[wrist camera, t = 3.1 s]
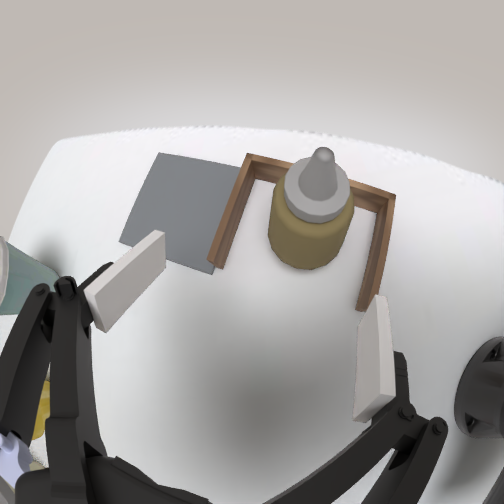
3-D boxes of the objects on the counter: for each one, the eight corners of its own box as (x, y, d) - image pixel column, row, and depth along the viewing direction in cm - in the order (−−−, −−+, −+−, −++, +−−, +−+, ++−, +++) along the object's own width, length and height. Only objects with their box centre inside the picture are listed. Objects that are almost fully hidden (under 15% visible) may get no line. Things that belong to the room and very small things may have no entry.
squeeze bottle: (266, 211, 33) (248, 109, 16) (332, 206, 32) (369, 104, 15) (272, 278, 31) (258, 229, 14) (342, 271, 31) (406, 217, 13)
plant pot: (36, 415, 30) (-2, 424, 20) (31, 362, 32) (-10, 364, 23) (75, 437, 29) (35, 454, 19) (70, 380, 31) (24, 388, 21)
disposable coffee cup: (33, 322, 34) (-36, 314, 19) (34, 260, 36) (-31, 237, 22) (73, 323, 33) (-7, 316, 18) (73, 251, 35) (0, 221, 21)
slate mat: (249, 171, 35) (249, 169, 34) (212, 274, 32) (211, 274, 32) (160, 154, 37) (158, 152, 37) (120, 242, 35) (118, 241, 34)
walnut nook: (383, 209, 32) (395, 194, 27) (361, 311, 29) (373, 310, 25) (251, 171, 35) (246, 152, 30) (216, 267, 32) (206, 259, 28)
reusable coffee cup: (35, 447, 28) (-17, 464, 14) (74, 499, 25) (28, 527, 11) (19, 459, 27) (-26, 473, 13) (53, 505, 24) (12, 526, 10)
